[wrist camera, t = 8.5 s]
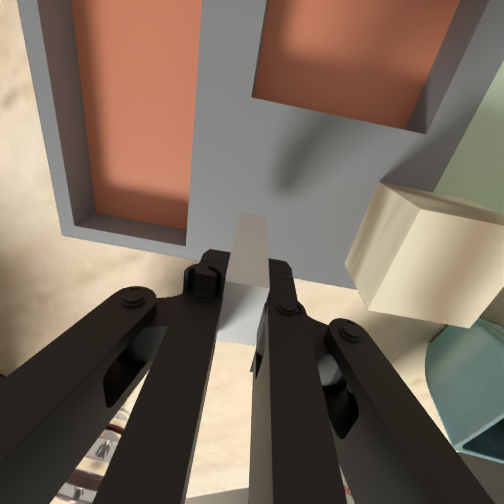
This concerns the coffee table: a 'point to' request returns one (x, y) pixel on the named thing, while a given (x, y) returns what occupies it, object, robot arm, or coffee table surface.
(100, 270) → the coffee table surface
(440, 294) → the birch block
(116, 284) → the coffee table surface
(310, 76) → the grey compartment tray
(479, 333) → the flower pot
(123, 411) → the wineglass
